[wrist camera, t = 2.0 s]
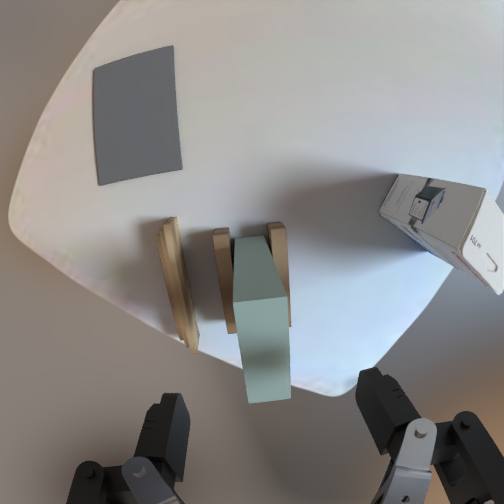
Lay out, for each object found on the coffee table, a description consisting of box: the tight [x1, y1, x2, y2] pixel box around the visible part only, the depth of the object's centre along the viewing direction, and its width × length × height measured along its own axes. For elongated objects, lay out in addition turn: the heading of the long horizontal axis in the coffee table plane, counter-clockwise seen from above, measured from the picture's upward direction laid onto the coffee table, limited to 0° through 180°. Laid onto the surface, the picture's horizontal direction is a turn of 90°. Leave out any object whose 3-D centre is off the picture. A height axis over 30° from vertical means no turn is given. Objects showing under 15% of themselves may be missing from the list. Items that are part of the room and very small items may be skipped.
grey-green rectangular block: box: [233, 235, 291, 403], centre depth 19 cm, size 7×2×12 cm, turn 6°
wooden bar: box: [156, 217, 200, 354], centre depth 23 cm, size 12×2×4 cm, turn 6°
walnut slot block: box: [213, 222, 291, 334], centre depth 24 cm, size 9×6×2 cm, turn 6°
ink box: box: [379, 174, 504, 295], centre depth 18 cm, size 9×5×12 cm, turn 62°
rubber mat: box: [94, 45, 182, 186], centre depth 20 cm, size 12×8×1 cm, turn 6°
